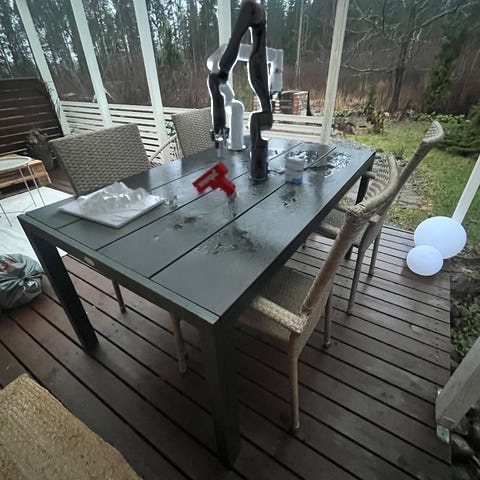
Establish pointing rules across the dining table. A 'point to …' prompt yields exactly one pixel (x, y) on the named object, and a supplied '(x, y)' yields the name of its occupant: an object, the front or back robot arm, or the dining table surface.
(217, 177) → the toy gun
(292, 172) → the ink box
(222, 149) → the metal cylinder
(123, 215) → the relief map
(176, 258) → the dining table surface
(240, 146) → the back robot arm
